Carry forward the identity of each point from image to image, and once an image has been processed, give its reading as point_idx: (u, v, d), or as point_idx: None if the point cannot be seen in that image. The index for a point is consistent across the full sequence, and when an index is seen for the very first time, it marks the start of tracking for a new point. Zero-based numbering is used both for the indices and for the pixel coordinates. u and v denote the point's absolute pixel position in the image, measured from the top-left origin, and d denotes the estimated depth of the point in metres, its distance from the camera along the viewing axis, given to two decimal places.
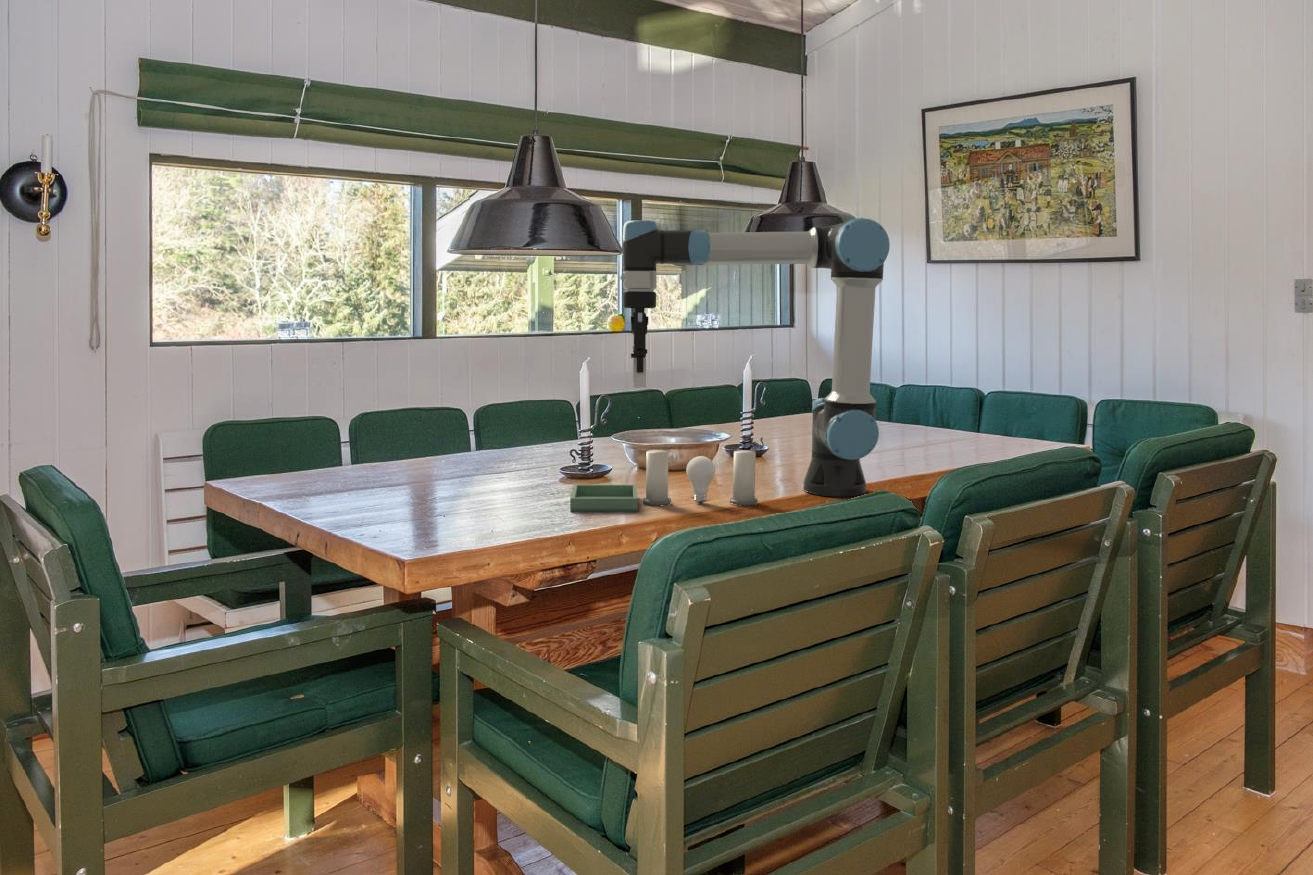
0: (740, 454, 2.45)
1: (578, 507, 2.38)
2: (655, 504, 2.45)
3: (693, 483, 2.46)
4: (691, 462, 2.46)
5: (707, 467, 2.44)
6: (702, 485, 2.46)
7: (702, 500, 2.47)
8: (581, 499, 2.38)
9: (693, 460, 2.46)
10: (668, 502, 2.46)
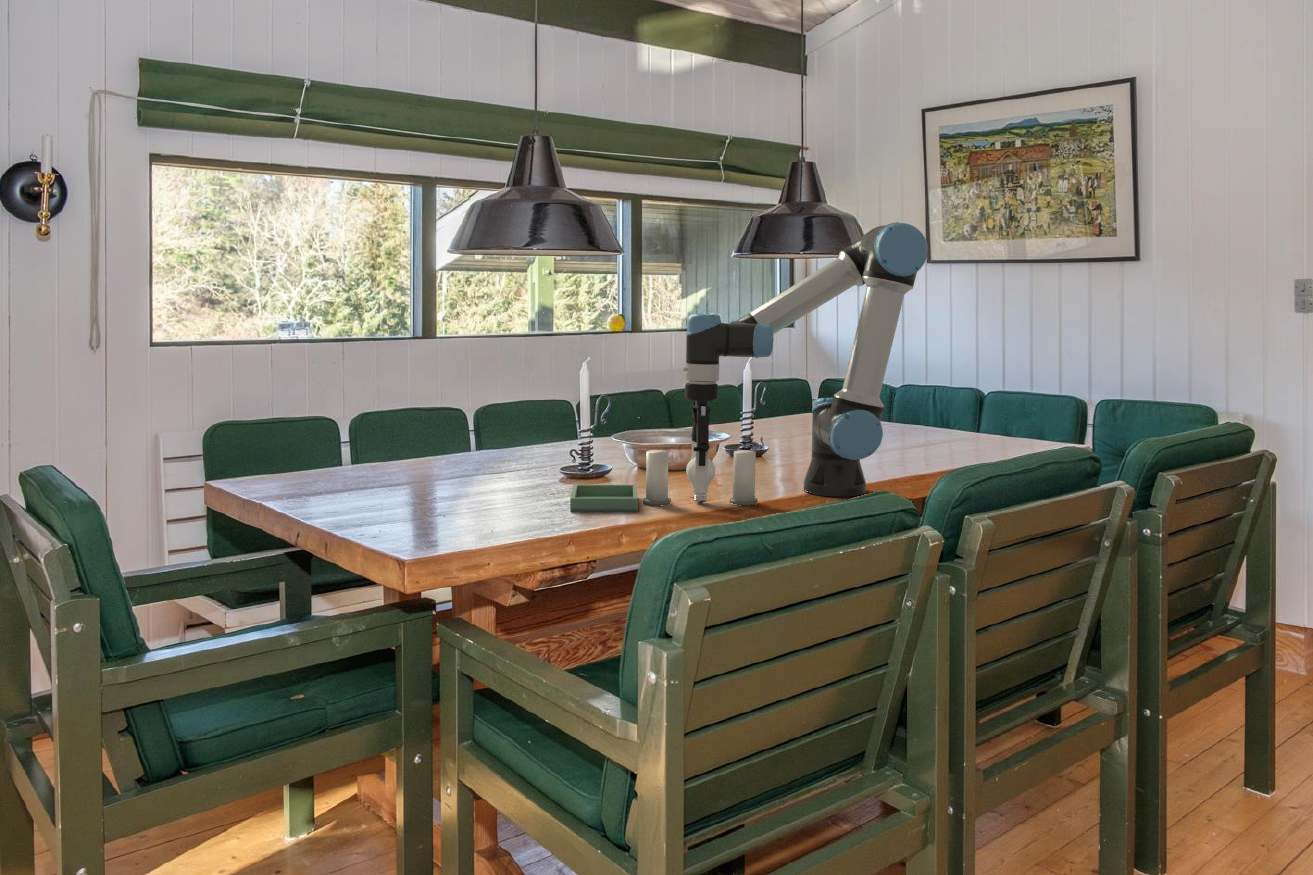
0: (740, 454, 2.45)
1: (578, 507, 2.38)
2: (655, 504, 2.45)
3: (693, 483, 2.46)
4: (691, 462, 2.46)
5: None
6: (702, 485, 2.46)
7: (702, 500, 2.47)
8: (581, 499, 2.38)
9: (693, 460, 2.46)
10: (668, 502, 2.46)
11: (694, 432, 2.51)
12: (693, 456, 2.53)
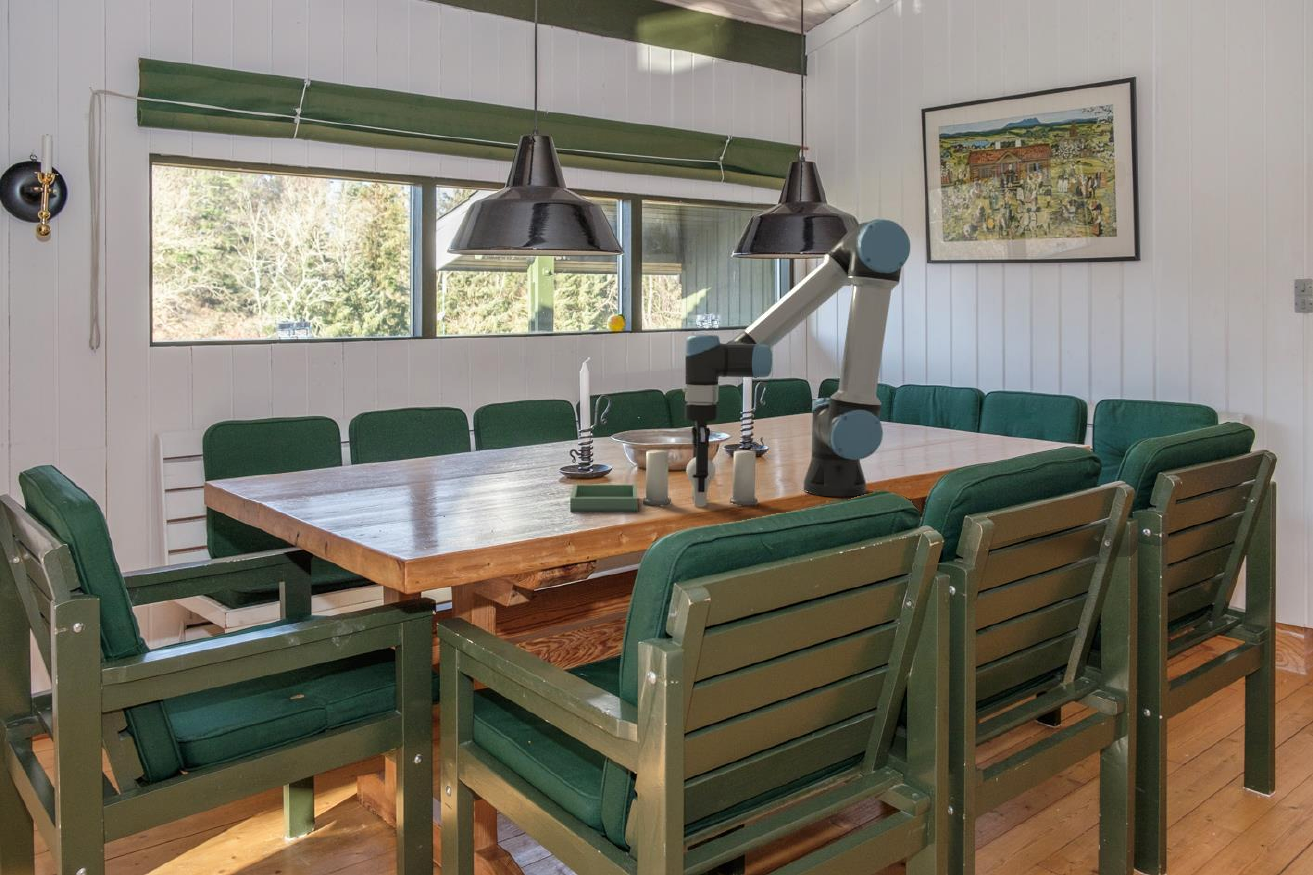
0: (740, 454, 2.45)
1: (578, 507, 2.38)
2: (655, 504, 2.45)
3: (693, 483, 2.46)
4: (691, 462, 2.46)
5: None
6: None
7: None
8: (581, 499, 2.38)
9: (693, 460, 2.46)
10: (668, 502, 2.46)
11: None
12: None
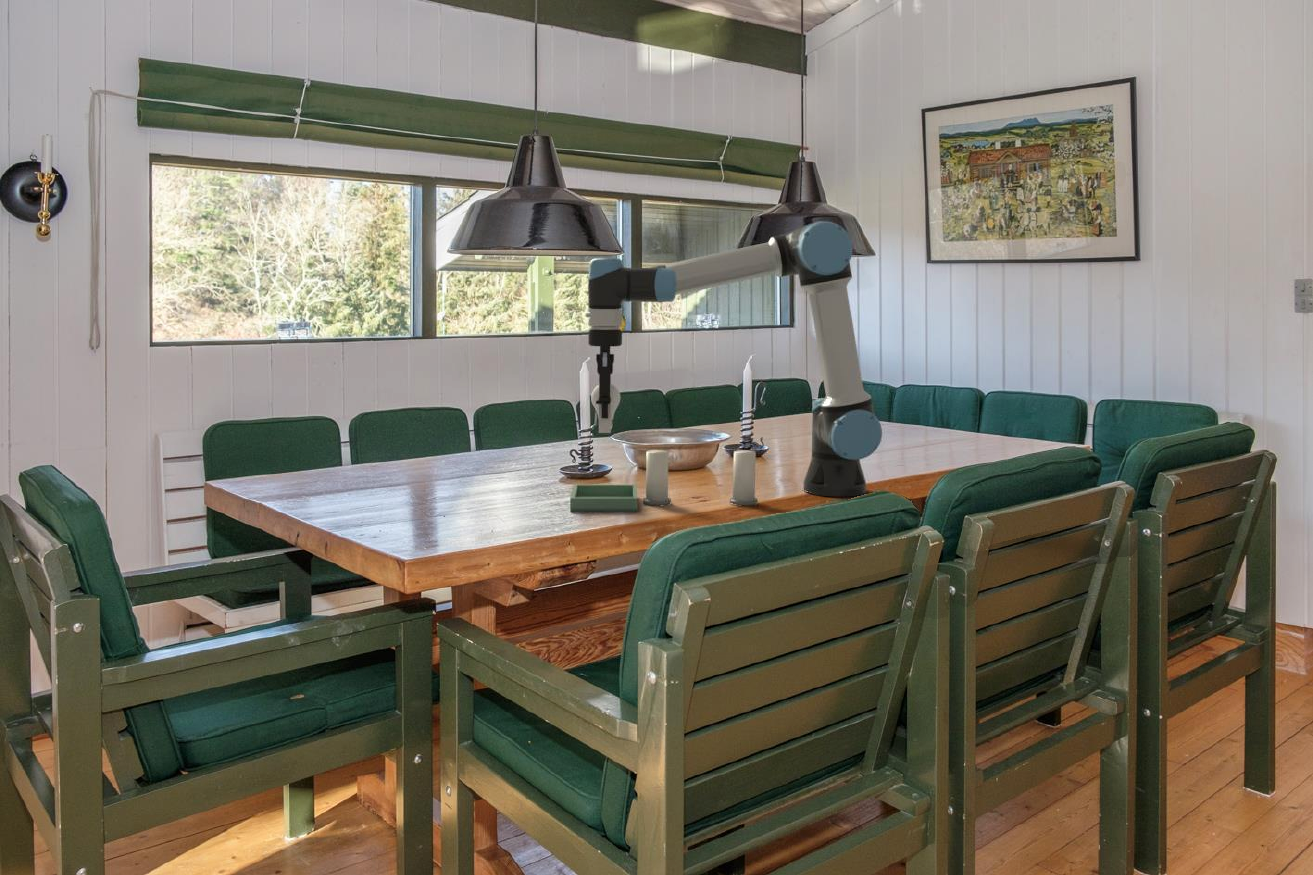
0: (740, 454, 2.45)
1: (578, 507, 2.38)
2: (655, 504, 2.45)
3: (598, 410, 2.42)
4: (595, 389, 2.42)
5: (611, 393, 2.40)
6: None
7: None
8: (581, 499, 2.38)
9: (597, 387, 2.42)
10: (668, 502, 2.46)
11: None
12: None
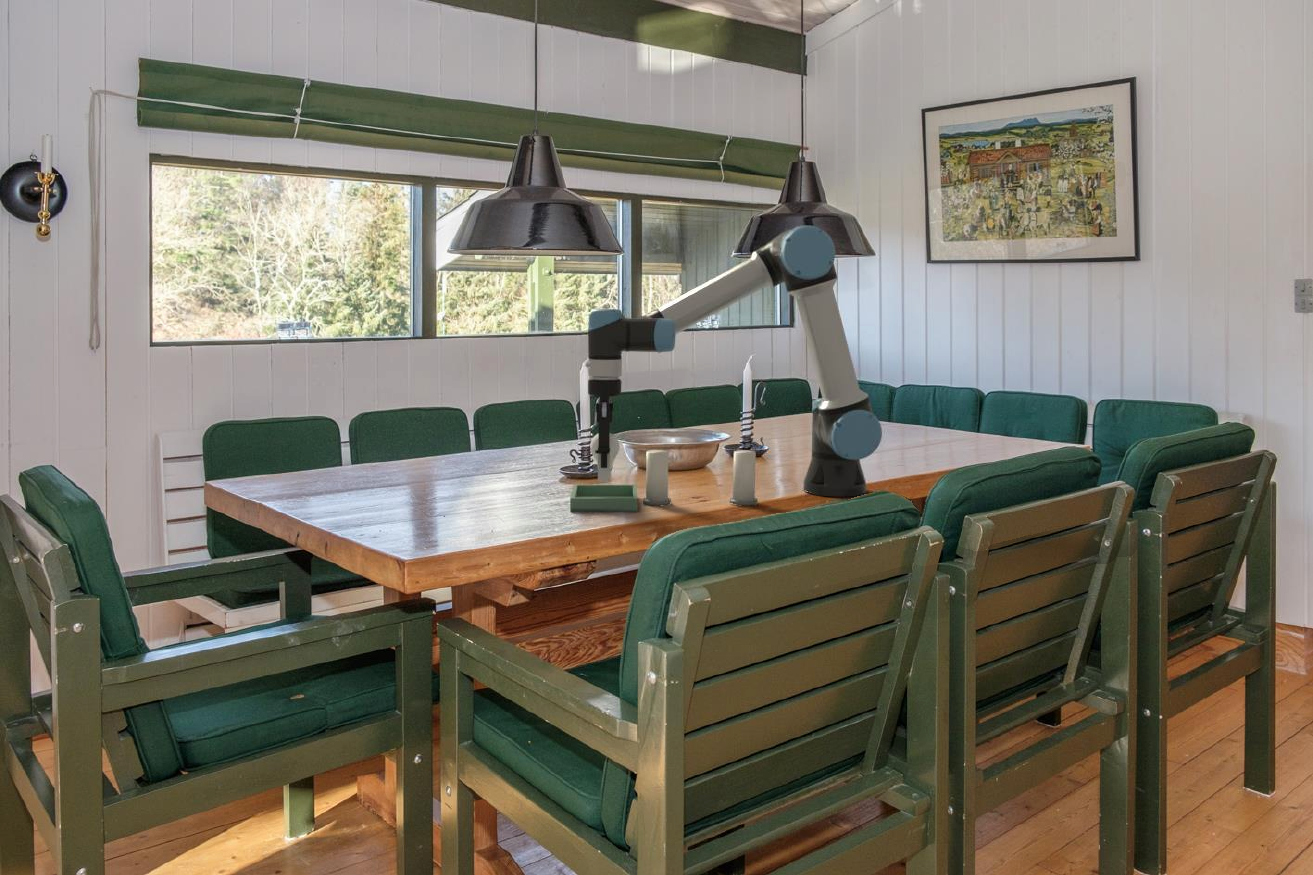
0: (740, 454, 2.45)
1: (578, 507, 2.38)
2: (655, 504, 2.45)
3: (597, 459, 2.44)
4: (594, 438, 2.43)
5: (610, 443, 2.42)
6: None
7: None
8: (581, 499, 2.38)
9: (596, 436, 2.43)
10: (668, 502, 2.46)
11: None
12: None
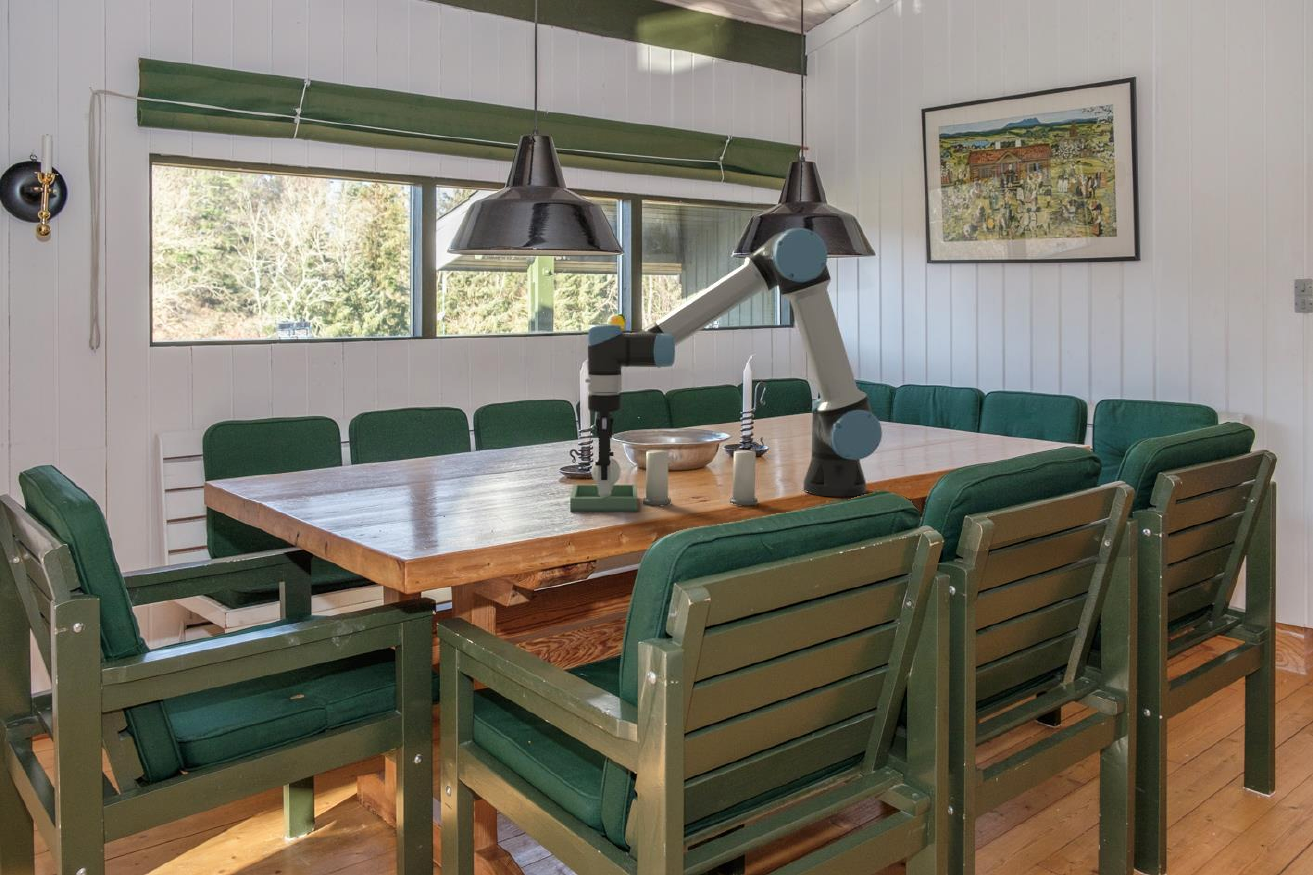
0: (740, 454, 2.45)
1: (578, 507, 2.38)
2: (655, 504, 2.45)
3: (597, 484, 2.44)
4: (596, 467, 2.41)
5: (611, 476, 2.41)
6: None
7: (606, 497, 2.47)
8: (581, 499, 2.38)
9: None
10: (668, 502, 2.46)
11: None
12: None
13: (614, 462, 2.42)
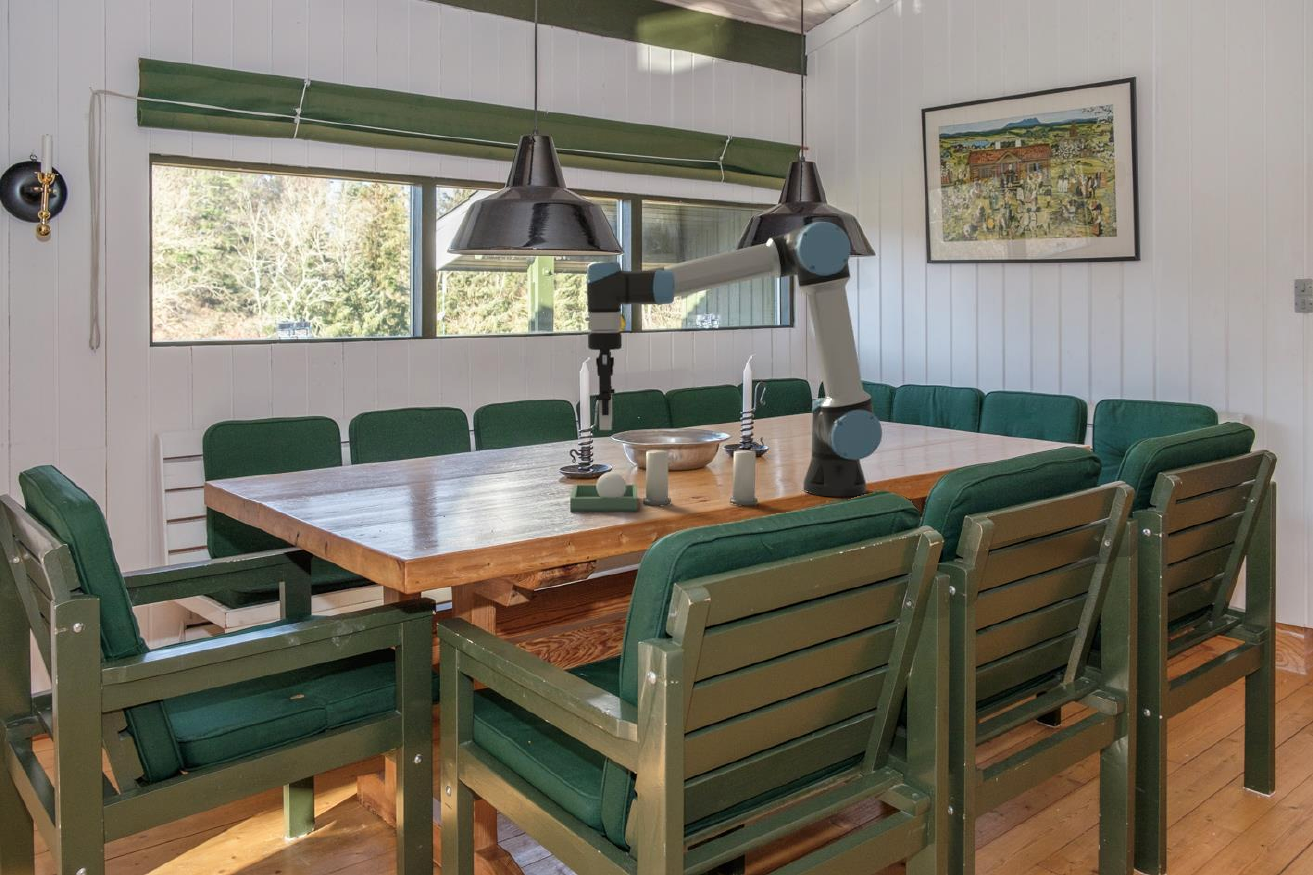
0: (740, 454, 2.45)
1: (578, 507, 2.38)
2: (655, 504, 2.45)
3: None
4: (603, 488, 2.38)
5: None
6: None
7: None
8: (581, 499, 2.38)
9: (605, 488, 2.37)
10: (668, 502, 2.46)
11: None
12: None
13: (621, 484, 2.38)
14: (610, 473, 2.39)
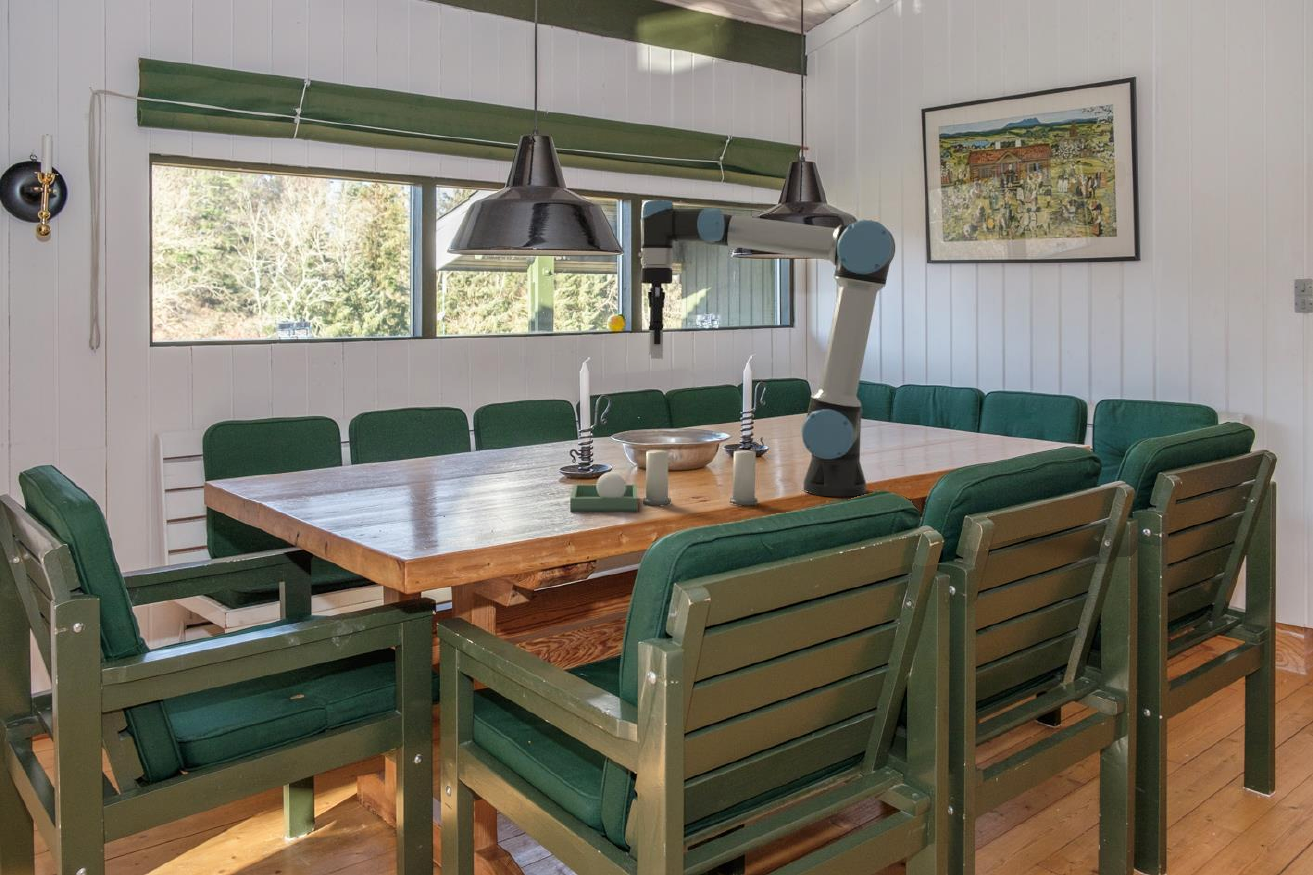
0: (740, 454, 2.45)
1: (578, 507, 2.38)
2: (655, 504, 2.45)
3: None
4: (603, 488, 2.38)
5: None
6: None
7: None
8: (581, 499, 2.38)
9: (605, 488, 2.37)
10: (668, 502, 2.46)
11: (651, 317, 2.62)
12: None
13: (621, 484, 2.38)
14: (610, 473, 2.39)
